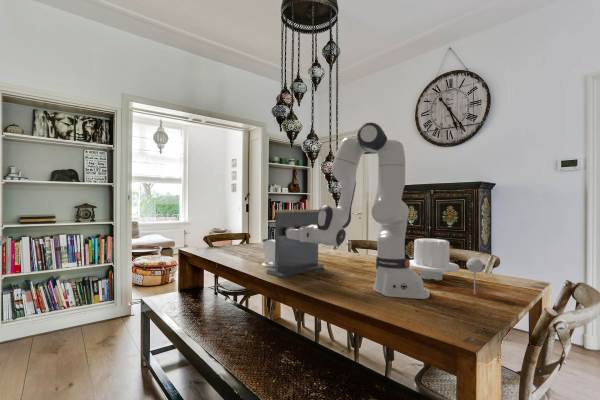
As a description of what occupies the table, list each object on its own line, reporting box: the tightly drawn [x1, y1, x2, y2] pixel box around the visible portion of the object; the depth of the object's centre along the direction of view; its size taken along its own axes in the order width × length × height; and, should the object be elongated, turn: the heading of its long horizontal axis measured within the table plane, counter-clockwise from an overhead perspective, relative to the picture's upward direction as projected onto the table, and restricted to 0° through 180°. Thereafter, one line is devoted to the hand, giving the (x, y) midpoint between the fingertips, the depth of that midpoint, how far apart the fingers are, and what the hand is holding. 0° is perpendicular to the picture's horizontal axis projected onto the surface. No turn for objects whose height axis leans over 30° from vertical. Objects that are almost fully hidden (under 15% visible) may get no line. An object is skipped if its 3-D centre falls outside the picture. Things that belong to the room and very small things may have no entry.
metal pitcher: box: [261, 238, 275, 268], centre depth 182 cm, size 12×11×15 cm
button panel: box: [266, 209, 324, 278], centre depth 167 cm, size 12×32×33 cm, turn 137°
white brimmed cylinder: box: [409, 238, 460, 281], centre depth 155 cm, size 25×25×19 cm
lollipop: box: [466, 257, 484, 295], centre depth 126 cm, size 6×6×15 cm
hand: (293, 231), depth 155 cm, fingers closed
